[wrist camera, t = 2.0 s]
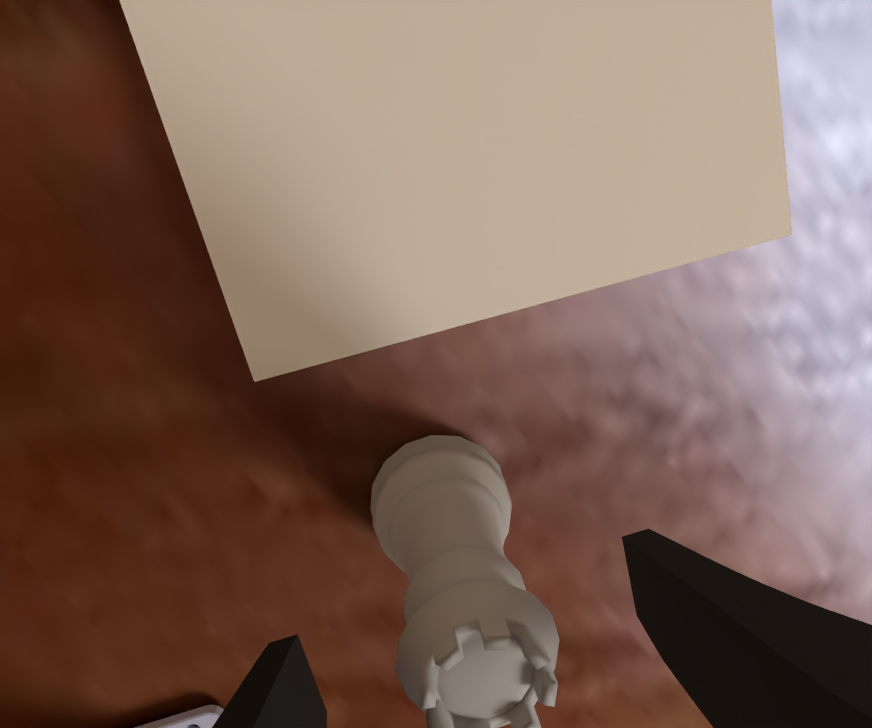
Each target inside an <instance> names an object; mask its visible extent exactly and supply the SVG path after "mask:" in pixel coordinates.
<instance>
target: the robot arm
mask: <svg viewBox="0 0 872 728" xmlns="http://www.w3.org/2000/svg"><path fill="white" fill-rule="evenodd" d="M622 540H623V545H624V550H625V556H626V561H627V566H628V571H629V577H630V582H631V587H632V593H633V598H634V603H635V608H636V614H637V617H638V618H639V620H640V622H641V623H642V625H643V627H644V629H645V630H646V632H647V634H648V636H649V637H650V639H651V641H652V642H653V644H654V646H655V647H656V649H657V651H658V652H659V654H660V656H661V657H662V659H663V661H664V662H665V663H666V665H667V666H668V668H669V669H670V670H671V672H672V673H673V674H674V676H675V677H676V678H677V680H678V681H679V682H680V684H681V685H682V686H683V688H684V689H685V691H686V692H687V693H688V695H689V696H690V697H691V699H692V700H693V701H694V703H695V704H696V705H697V707H698V708H699V709H700V711H701V712H702V713H703V715H704V716H705V717H706V719H707V720H708V721H709V723H710V724H711V725H712V727H713V728H872V625H870V624H867V623H864V622H862V621H859V620H856V619H853V618H850V617H847V616H844V615H841V614H839V613H836V612H833V611H830V610H827V609H824V608H822V607H819V606H816V605H814V604H811V603H808V602H806V601H803V600H801V599H798V598H796V597H793V596H791V595H789V594H786V593H784V592H781V591H779V590H777V589H774V588H772V587H769V586H767V585H765V584H762V583H760V582H758V581H756V580H753V579H751V578H749V577H747V576H744V575H742V574H740V573H738V572H736V571H734V570H731V569H729V568H727V567H725V566H723V565H721V564H719V563H717V562H715V561H713V560H711V559H708V558H706V557H704V556H702V555H700V554H698V553H696V552H694V551H692V550H690V549H688V548H686V547H684V546H682V545H680V544H678V543H676V542H674V541H672V540H670V539H668V538H666V537H664V536H662V535H660V534H658V533H656V532H654V531H652V530H650V529H646V530H643V531H640V532H636V533H633V534H630V535H626V536H623V537H622ZM191 724H195V725H198V726H199V727H195V726H192V725H191ZM135 728H327V711H326V708H325V706H324V703H323V700H322V698H321V695H320V692H319V690H318V687H317V684H316V682H315V679H314V677H313V674H312V671H311V669H310V666H309V663H308V661H307V658H306V655H305V653H304V650H303V648H302V645H301V642H300V640H299V637H298V634H297V635H294V636H291V637H287V638H284V639H281V640H277V641H274V642H271V643H269V644H268V645H267V647H266V648H265V650H264V651H263V652H262V654H261V655H260V657H259V658H258V660H257V661H256V663H255V664H254V666H253V667H252V669H251V670H250V672H249V673H248V675H247V676H246V678H245V679H244V681H243V682H242V684H241V685H240V687H239V688H238V690H237V691H236V693H235V694H234V696H233V697H232V699H231V700H230V702H229V703H228V705H227V706H226V707H225V709H224V710H223V708H221V707H219V706H217V705H206V706H203V707H200V708H196V709H193V710H190V711H187V712H183V713H180V714H177V715H174V716H170V717H167V718H164V719H161V720H157V721H154V722H151V723H148V724H145V725H141V726H138V727H135Z"/></svg>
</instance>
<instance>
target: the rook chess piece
mask: <svg viewBox="0 0 872 728" xmlns="http://www.w3.org/2000/svg"><path fill="white" fill-rule="evenodd" d="M370 511H371V513H372V516H373V522H372V525H373V527H374V530H375V532H376V535H377V538H378V540H379V543H380V545H381V548H382V550H383V551H384V553H385V554H386V555H387V556H388V557H389V558H390V559H391V560H392V561H393V562H394V563H395V564H396V565H397V566H398V567H399V568H400V569H401V570H402V571H405V572H406V574H407V577H408V580H409V583H410V585H409V587H408V589H407V591H406V593H405V604H404V617H405V620H406V622H407V626H406V628H405V630H404V632H403V634H402V635H401V637H400V639H399V641H398V650H397V662H396V672H397V674H398V677H399V679H400V682H401V684H402V687H403V689H404V692H405V694H406V696H407V697H408V698H409V699H410V700H411V701H413V702H414V703H415V704H416V705H417V706H418V707H419V710H423V711H424V712H425V713H426V720H427V728H499V727H502V726H504V725H507V724H510V723H511V726H512V728H541V726H540V723H539V720H538V717H537V714H536V711H535V708H534V705H535V703H536V702H537V700H538V701H539V704H540V705H547V706H555V700H556V693H557V687H558V682H557V680H556V678H555V675H554V673H553V671H554V669H555V666H556V659H557V653H558V646H559V637H558V634H557V630H556V627H555V624H554V620H553V617H552V614H551V613H550V612H549V611H548V610H547V609H546V608H545V606H544V605H543V604H542V603H541V602H540V601H539V600H538V599H537V598H536V597H535V596H534V595H533V594H532V593H530V592H527V591H526V589H525V586H524V583H523V580H522V576H521V573H520V572H519V571H518V570H517V569H516V568H515V567H514V566H513V565H512V564H511V562H510V561H509V560H508V559H507V558H506V557H505V556H504V551H503V545H504V541H505V538H506V536H507V535H508V532H509V524H510V516H511V499H510V496H509V493H508V489H507V486H506V483H505V479H504V478H503V476H502V473H501V469H500V466H499V465H498V464H497V463H496V461H495V460H494V459H493V458H492V457H491V456H490V455H489V454H488V452H487V451H486V450H485V449H484V448H483V447H481V446H479V445H477V444H475V443H473V442H471V441H468V440H466V439H464V438H462V437H460V436H445V435H430V436H427V437H424V438H421V439H418V440H415V441H412V442H410V443H407V444H405V445H403V446H402V447H401V448H400V449H399V450H398V451H396V452H395V453H394V454H393V455H392V456H390V457H389V458H388V459H387V460H386V461H385V462H384V463H383V465H382V467H381V469H380V471H379V473H378V475H377V477H376V479H375V481H374V482H373V484H372V494H371V510H370Z"/></svg>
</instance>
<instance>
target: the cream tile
mask: <svg viewBox="0 0 872 728" xmlns="http://www.w3.org/2000/svg"><path fill="white" fill-rule="evenodd" d="M120 3H121V6H122V9H123V12H124V15H125V17H126V20H127V23H128V26H129V29H130V32H131V34H132V37H133V40H134V43H135V46H136V49H137V51H138V54H139V57H140V60H141V63H142V66H143V68H144V71H145V74H146V77H147V80H148V83H149V85H150V88H151V91H152V94H153V97H154V100H155V102H156V105H157V108H158V111H159V114H160V117H161V119H162V122H163V125H164V128H165V131H166V134H167V136H168V139H169V142H170V145H171V148H172V151H173V153H174V156H175V159H176V162H177V165H178V168H179V170H180V173H181V176H182V179H183V182H184V184H185V187H186V190H187V193H188V196H189V199H190V201H191V204H192V207H193V210H194V213H195V216H196V218H197V221H198V224H199V227H200V230H201V233H202V235H203V238H204V241H205V244H206V247H207V250H208V252H209V255H210V258H211V261H212V264H213V267H214V269H215V272H216V275H217V278H218V281H219V284H220V286H221V289H222V292H223V295H224V298H225V301H226V303H227V306H228V309H229V312H230V315H231V318H232V320H233V323H234V326H235V329H236V332H237V335H238V337H239V340H240V343H241V346H242V349H243V352H244V354H245V357H246V360H247V363H248V366H249V369H250V371H251V374H252V377H253V380H254V382H256V381H260V380H263V379H267V378H271V377H274V376H278V375H282V374H285V373H289V372H293V371H296V370H300V369H304V368H307V367H311V366H315V365H318V364H322V363H326V362H329V361H333V360H337V359H340V358H344V357H347V356H351V355H355V354H358V353H362V352H366V351H369V350H373V349H377V348H380V347H384V346H388V345H391V344H395V343H399V342H402V341H406V340H410V339H413V338H417V337H421V336H424V335H428V334H432V333H435V332H439V331H442V330H446V329H450V328H453V327H457V326H461V325H464V324H468V323H472V322H475V321H479V320H483V319H486V318H490V317H494V316H497V315H501V314H505V313H508V312H512V311H516V310H519V309H523V308H527V307H530V306H534V305H537V304H541V303H545V302H548V301H552V300H556V299H559V298H563V297H567V296H570V295H574V294H578V293H581V292H585V291H589V290H592V289H596V288H600V287H603V286H607V285H611V284H614V283H618V282H622V281H625V280H629V279H632V278H636V277H640V276H643V275H647V274H651V273H654V272H658V271H662V270H665V269H669V268H673V267H676V266H680V265H684V264H687V263H691V262H695V261H698V260H702V259H706V258H709V257H713V256H717V255H720V254H724V253H727V252H731V251H735V250H738V249H742V248H746V247H749V246H753V245H757V244H760V243H764V242H768V241H771V240H775V239H779V238H782V237H786V236H790V235H792V227H791V216H790V205H789V193H788V182H787V171H786V159H785V148H784V137H783V126H782V114H781V103H780V92H779V81H778V69H777V58H776V47H775V35H774V24H773V13H772V2H771V0H120Z"/></svg>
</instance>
